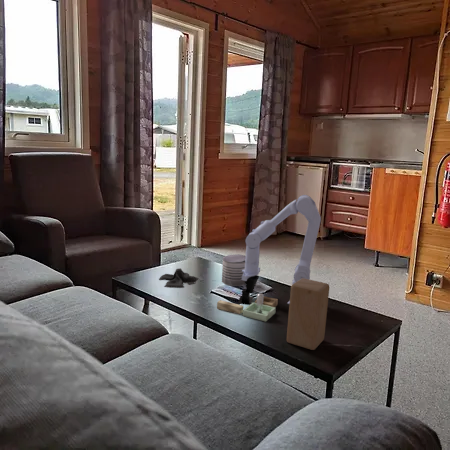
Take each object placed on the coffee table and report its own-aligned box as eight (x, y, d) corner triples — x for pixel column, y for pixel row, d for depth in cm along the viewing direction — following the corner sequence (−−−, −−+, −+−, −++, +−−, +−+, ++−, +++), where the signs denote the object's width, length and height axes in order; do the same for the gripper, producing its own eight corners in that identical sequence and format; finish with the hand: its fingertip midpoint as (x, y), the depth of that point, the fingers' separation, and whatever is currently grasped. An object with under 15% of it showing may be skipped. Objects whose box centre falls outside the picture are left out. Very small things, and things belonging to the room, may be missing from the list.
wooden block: (314, 352, 131) (320, 291, 128) (284, 342, 137) (289, 284, 133) (324, 340, 140) (330, 283, 136) (296, 332, 145) (301, 276, 141)
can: (248, 286, 189) (249, 260, 187) (223, 286, 187) (224, 260, 185) (243, 278, 200) (245, 253, 198) (220, 277, 198) (221, 253, 196)
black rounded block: (252, 308, 166) (253, 297, 165) (234, 306, 167) (234, 295, 166) (255, 297, 178) (256, 286, 177) (238, 295, 179) (238, 284, 178)
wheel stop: (243, 312, 159) (243, 305, 159) (240, 314, 157) (240, 307, 157) (219, 306, 164) (220, 300, 163) (216, 308, 162) (217, 302, 161)
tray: (275, 313, 160) (275, 307, 160) (266, 321, 152) (266, 315, 152) (252, 307, 164) (253, 302, 164) (242, 315, 156) (243, 310, 156)
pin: (263, 312, 159) (264, 294, 157) (260, 315, 157) (262, 296, 155) (257, 311, 160) (258, 292, 158) (254, 313, 158) (256, 294, 156)
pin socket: (277, 304, 169) (277, 299, 168) (271, 310, 162) (271, 304, 162) (261, 301, 172) (261, 295, 171) (254, 306, 165) (254, 300, 165)
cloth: (169, 291, 179) (170, 277, 177) (150, 279, 193) (150, 266, 192) (213, 283, 192) (213, 270, 190) (192, 272, 206) (192, 260, 205)
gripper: (250, 255, 181) (248, 285, 183) (235, 263, 168) (233, 295, 171) (265, 258, 178) (263, 289, 180) (251, 266, 165) (249, 299, 168)
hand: (250, 292), depth 175 cm, fingers closed
